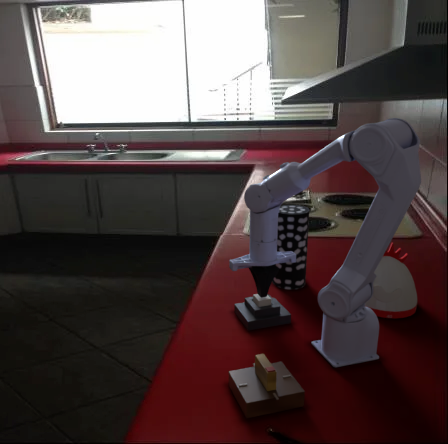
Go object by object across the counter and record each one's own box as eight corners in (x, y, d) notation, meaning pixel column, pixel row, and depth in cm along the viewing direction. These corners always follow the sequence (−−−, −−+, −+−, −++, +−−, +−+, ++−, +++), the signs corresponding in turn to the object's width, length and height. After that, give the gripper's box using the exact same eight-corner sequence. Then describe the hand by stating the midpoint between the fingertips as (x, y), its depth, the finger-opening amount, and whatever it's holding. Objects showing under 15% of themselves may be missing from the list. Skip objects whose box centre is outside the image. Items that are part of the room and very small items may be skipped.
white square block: (265, 299, 95) (265, 292, 94) (271, 305, 92) (271, 298, 91) (252, 301, 94) (253, 294, 94) (258, 307, 91) (258, 300, 91)
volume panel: (279, 373, 76) (279, 358, 75) (306, 409, 67) (307, 393, 66) (227, 383, 74) (227, 368, 73) (247, 421, 66) (248, 405, 65)
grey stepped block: (274, 305, 99) (274, 290, 97) (290, 323, 91) (291, 307, 90) (234, 312, 97) (234, 296, 96) (247, 330, 89) (248, 314, 88)
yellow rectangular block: (254, 372, 72) (254, 353, 71) (263, 370, 72) (263, 352, 71) (267, 391, 67) (267, 372, 66) (276, 389, 68) (276, 370, 67)
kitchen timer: (348, 285, 106) (353, 230, 101) (410, 292, 101) (419, 234, 96) (350, 313, 94) (356, 251, 89) (421, 322, 89) (431, 257, 84)
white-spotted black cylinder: (305, 291, 105) (309, 215, 98) (270, 287, 107) (273, 213, 101) (305, 276, 112) (309, 205, 106) (273, 274, 115) (275, 204, 108)
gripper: (285, 227, 93) (283, 282, 97) (224, 235, 91) (224, 291, 95) (302, 238, 87) (299, 296, 91) (236, 247, 84) (236, 306, 88)
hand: (262, 295), depth 92 cm, fingers closed
